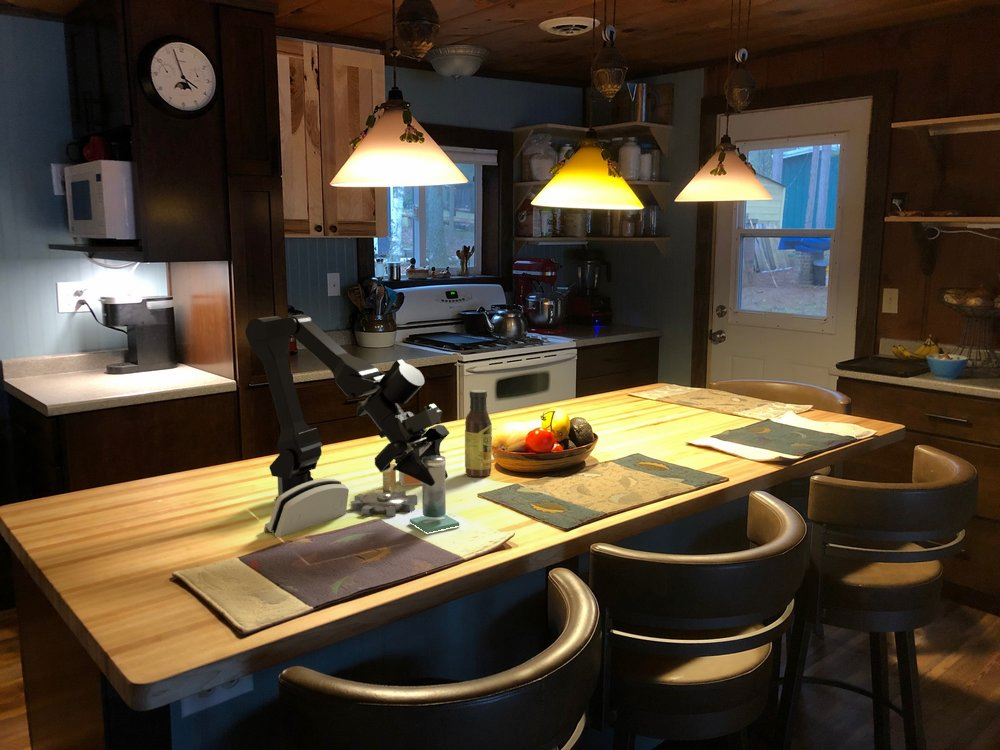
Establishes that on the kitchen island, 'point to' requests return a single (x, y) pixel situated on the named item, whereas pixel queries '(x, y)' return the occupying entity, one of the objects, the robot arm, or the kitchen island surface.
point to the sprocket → (385, 498)
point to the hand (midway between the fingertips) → (439, 481)
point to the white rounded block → (308, 506)
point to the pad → (434, 523)
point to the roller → (434, 487)
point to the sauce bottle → (478, 436)
